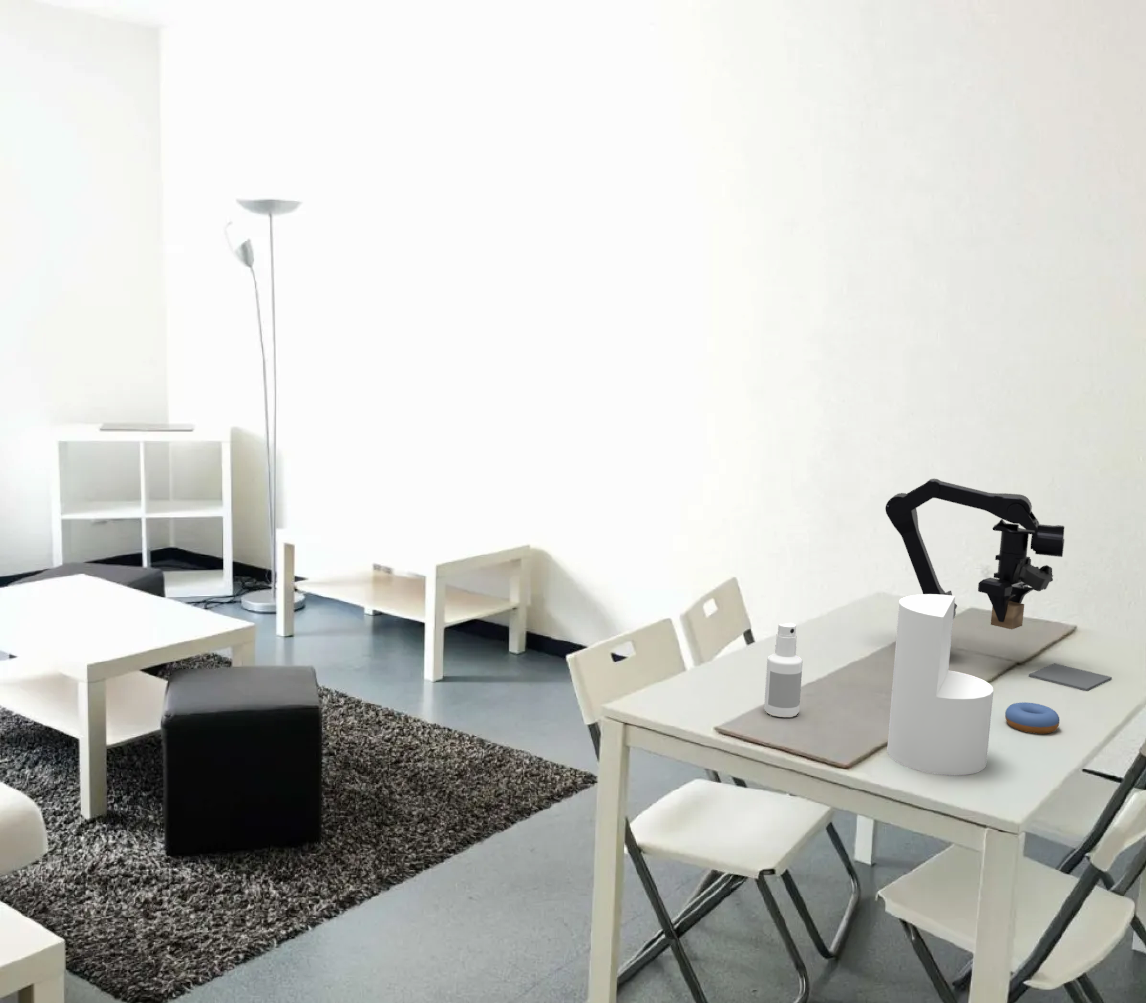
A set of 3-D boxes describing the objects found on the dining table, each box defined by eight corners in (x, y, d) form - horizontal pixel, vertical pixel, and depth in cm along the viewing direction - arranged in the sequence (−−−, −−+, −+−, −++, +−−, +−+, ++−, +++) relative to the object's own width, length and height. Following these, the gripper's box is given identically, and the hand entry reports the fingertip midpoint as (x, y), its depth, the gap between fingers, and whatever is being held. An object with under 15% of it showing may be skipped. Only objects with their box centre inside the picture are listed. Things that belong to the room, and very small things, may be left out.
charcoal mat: (1086, 691, 259) (1086, 688, 259) (1028, 676, 268) (1028, 674, 268) (1111, 679, 268) (1111, 677, 268) (1054, 665, 277) (1054, 663, 277)
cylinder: (879, 764, 214) (891, 610, 209) (895, 733, 230) (906, 589, 225) (981, 782, 207) (996, 624, 202) (990, 749, 223) (1004, 602, 218)
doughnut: (995, 725, 235) (1000, 703, 234) (1014, 715, 243) (1018, 694, 242) (1046, 743, 229) (1051, 720, 228) (1063, 732, 237) (1068, 710, 236)
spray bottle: (778, 720, 234) (783, 630, 231) (757, 709, 240) (762, 621, 237) (806, 716, 237) (812, 627, 234) (784, 705, 243) (790, 618, 240)
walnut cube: (1011, 629, 268) (1013, 607, 267) (990, 624, 271) (992, 603, 270) (1022, 625, 271) (1024, 604, 270) (1001, 621, 275) (1003, 599, 274)
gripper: (1028, 563, 256) (1022, 634, 259) (1067, 552, 269) (1060, 620, 272) (979, 554, 264) (973, 623, 267) (1019, 544, 277) (1013, 610, 280)
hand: (1006, 619), depth 271 cm, fingers closed on walnut cube, 5 cm apart
